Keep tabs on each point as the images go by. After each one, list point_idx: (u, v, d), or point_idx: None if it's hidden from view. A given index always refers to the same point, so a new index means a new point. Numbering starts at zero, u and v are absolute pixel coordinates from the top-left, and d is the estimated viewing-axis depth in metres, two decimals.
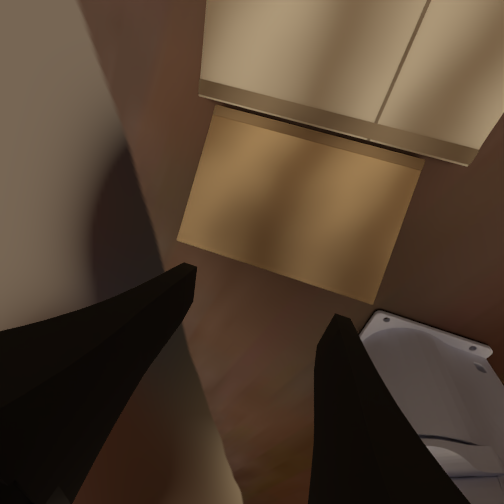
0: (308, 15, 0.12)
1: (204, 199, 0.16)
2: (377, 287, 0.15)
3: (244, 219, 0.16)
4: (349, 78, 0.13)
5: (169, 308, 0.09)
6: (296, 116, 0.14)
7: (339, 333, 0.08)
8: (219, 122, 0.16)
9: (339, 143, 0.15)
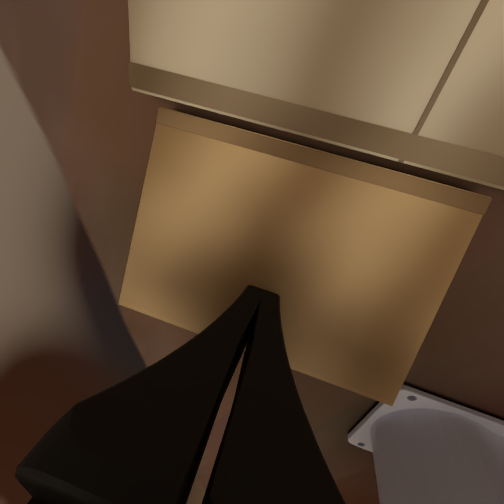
0: None
1: (151, 249, 0.11)
2: (400, 383, 0.10)
3: (208, 279, 0.11)
4: (372, 57, 0.07)
5: (246, 335, 0.09)
6: (283, 122, 0.09)
7: (259, 305, 0.09)
8: (166, 135, 0.10)
9: (350, 169, 0.09)
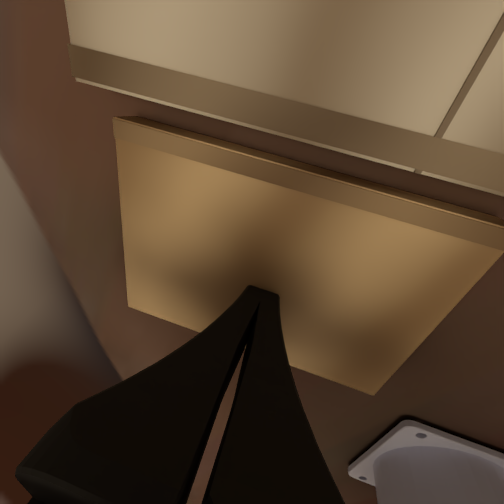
0: None
1: (144, 266, 0.11)
2: (382, 382, 0.11)
3: (201, 293, 0.11)
4: (382, 33, 0.06)
5: (246, 335, 0.09)
6: (266, 121, 0.07)
7: (259, 305, 0.09)
8: (129, 152, 0.09)
9: (346, 195, 0.08)
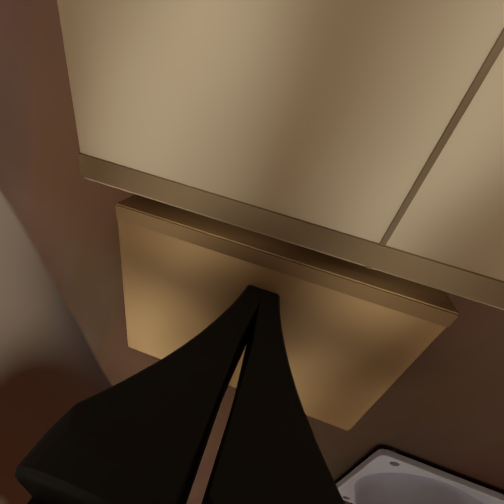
0: (248, 56, 0.06)
1: (143, 315, 0.13)
2: (355, 420, 0.12)
3: None
4: (333, 171, 0.07)
5: (245, 335, 0.09)
6: (243, 222, 0.08)
7: (259, 305, 0.09)
8: (130, 229, 0.10)
9: (314, 275, 0.09)
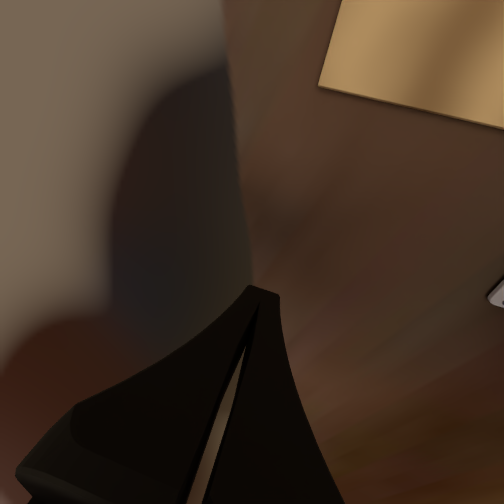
0: None
1: (360, 13, 0.12)
2: None
3: (416, 38, 0.12)
4: None
5: (245, 335, 0.09)
6: None
7: (259, 305, 0.09)
8: None
9: None
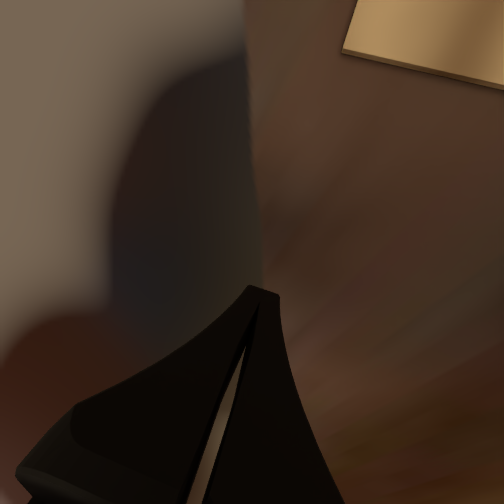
0: None
1: None
2: None
3: None
4: None
5: (246, 335, 0.09)
6: None
7: (259, 305, 0.09)
8: None
9: None
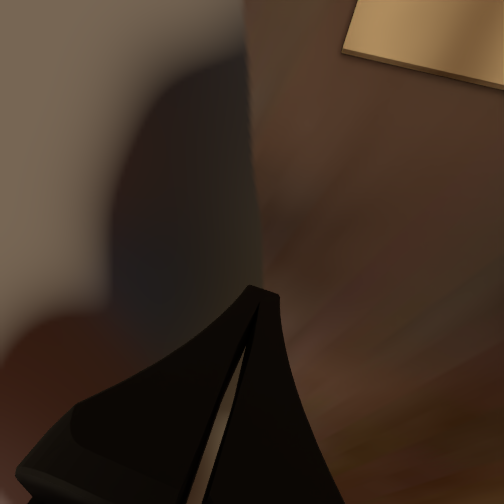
0: None
1: None
2: None
3: None
4: None
5: (246, 335, 0.09)
6: None
7: (259, 305, 0.09)
8: None
9: None
